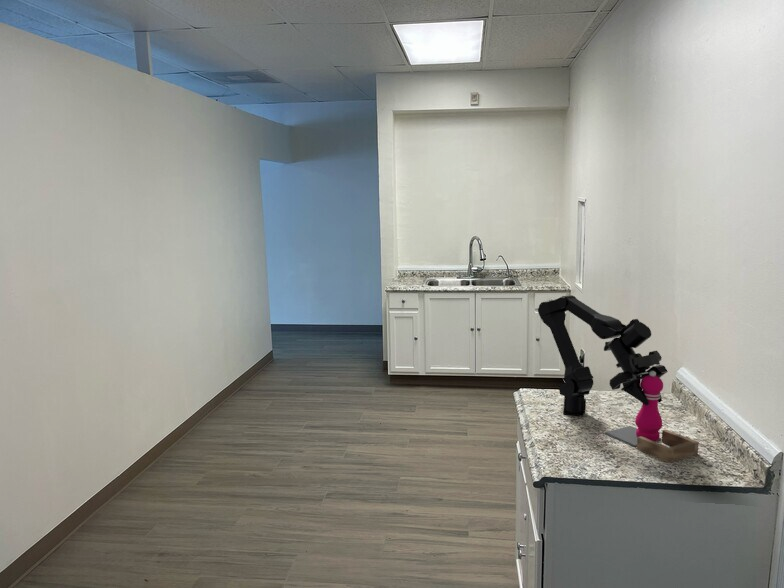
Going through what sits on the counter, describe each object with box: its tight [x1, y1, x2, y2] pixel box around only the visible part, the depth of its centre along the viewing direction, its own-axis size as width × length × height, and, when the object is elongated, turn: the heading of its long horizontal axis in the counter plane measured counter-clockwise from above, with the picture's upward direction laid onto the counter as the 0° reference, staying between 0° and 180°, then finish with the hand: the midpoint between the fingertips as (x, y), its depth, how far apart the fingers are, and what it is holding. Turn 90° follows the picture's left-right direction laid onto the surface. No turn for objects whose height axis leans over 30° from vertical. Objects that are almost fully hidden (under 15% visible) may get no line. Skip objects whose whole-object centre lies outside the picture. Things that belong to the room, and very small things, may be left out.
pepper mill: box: [634, 371, 664, 442], centre depth 173 cm, size 7×7×20 cm
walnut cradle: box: [636, 429, 700, 464], centre depth 169 cm, size 10×12×4 cm
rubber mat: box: [604, 425, 662, 448], centre depth 180 cm, size 11×11×1 cm
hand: (654, 403), depth 172 cm, fingers closed on pepper mill, 5 cm apart
